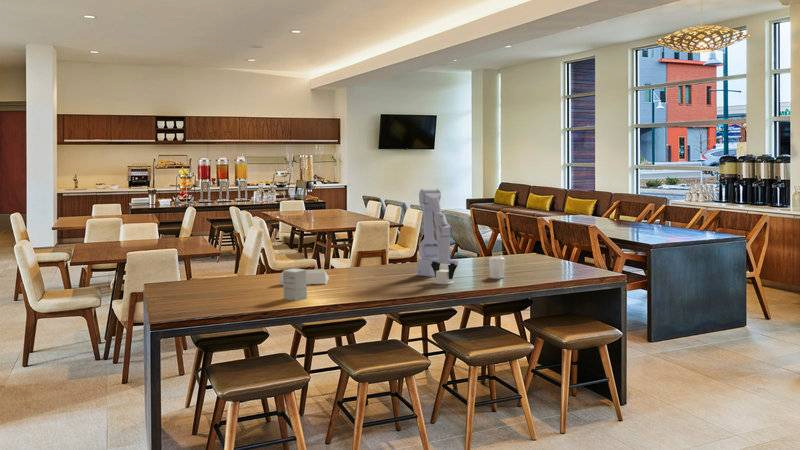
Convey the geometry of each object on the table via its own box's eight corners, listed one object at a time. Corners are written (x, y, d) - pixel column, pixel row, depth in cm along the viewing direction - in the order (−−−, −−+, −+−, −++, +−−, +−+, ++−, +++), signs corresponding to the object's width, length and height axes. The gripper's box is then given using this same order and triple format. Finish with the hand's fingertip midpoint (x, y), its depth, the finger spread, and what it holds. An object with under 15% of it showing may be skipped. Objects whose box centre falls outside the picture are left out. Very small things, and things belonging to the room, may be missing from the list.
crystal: (327, 273, 355) (278, 275, 349) (328, 268, 348) (278, 270, 343) (328, 287, 352) (278, 290, 346) (330, 282, 345) (279, 285, 340)
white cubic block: (435, 282, 347) (435, 271, 347) (442, 280, 352) (442, 269, 352) (446, 283, 344) (446, 272, 344) (452, 281, 349) (452, 270, 348)
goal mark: (429, 283, 346) (429, 282, 346) (440, 279, 355) (440, 279, 355) (447, 285, 341) (447, 284, 341) (457, 281, 349) (457, 281, 349)
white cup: (504, 279, 355) (504, 259, 354) (488, 278, 357) (488, 258, 356) (505, 276, 363) (505, 256, 362) (489, 276, 364) (489, 256, 363)
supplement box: (294, 296, 318) (294, 267, 317) (307, 298, 314) (306, 269, 313) (283, 299, 312) (282, 270, 311) (295, 301, 308) (295, 271, 307)
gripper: (426, 250, 347) (426, 278, 349) (453, 252, 339) (453, 281, 341) (434, 248, 353) (434, 276, 354) (460, 250, 345) (460, 278, 346)
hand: (444, 278), depth 348 cm, fingers open, 7 cm apart
